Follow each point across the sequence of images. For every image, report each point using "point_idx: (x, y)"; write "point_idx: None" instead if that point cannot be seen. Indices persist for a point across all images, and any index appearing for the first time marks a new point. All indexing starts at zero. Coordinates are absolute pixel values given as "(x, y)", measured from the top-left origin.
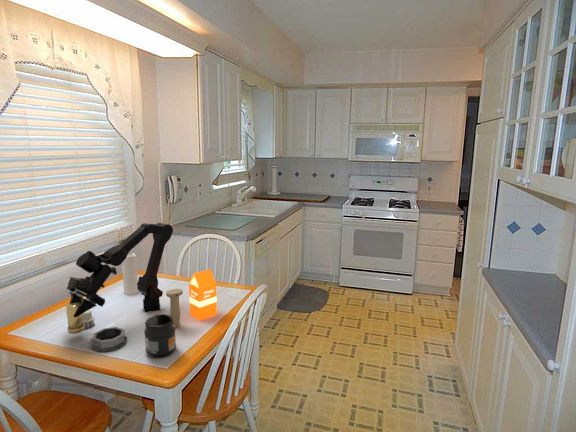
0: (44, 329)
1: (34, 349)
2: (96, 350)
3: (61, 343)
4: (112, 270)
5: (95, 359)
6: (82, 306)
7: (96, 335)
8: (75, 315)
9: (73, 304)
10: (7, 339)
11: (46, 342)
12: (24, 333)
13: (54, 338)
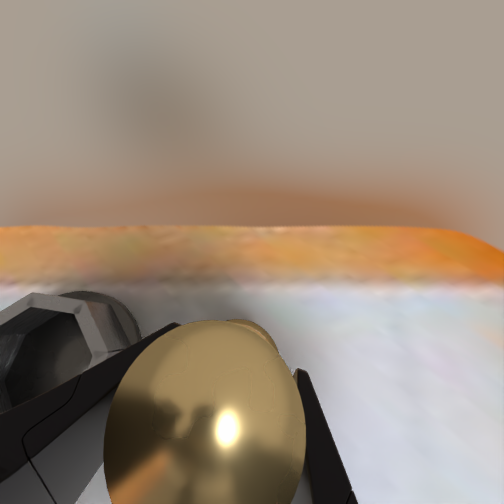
0: (456, 371)
1: (319, 233)
2: (87, 292)
3: (266, 296)
4: None
5: (68, 252)
6: (27, 414)
7: (89, 342)
8: (161, 333)
9: (236, 452)
10: (485, 250)
11: (327, 282)
12: (488, 308)
13: (329, 318)
